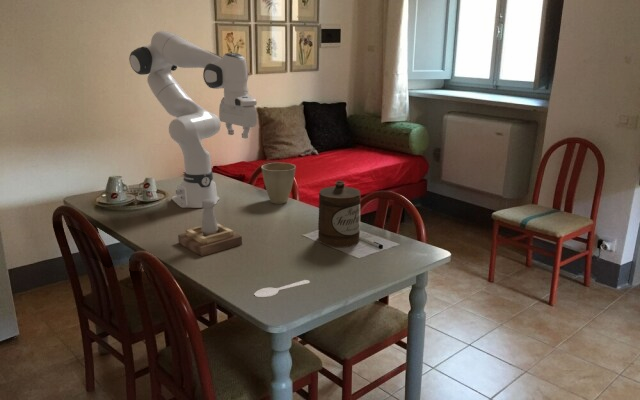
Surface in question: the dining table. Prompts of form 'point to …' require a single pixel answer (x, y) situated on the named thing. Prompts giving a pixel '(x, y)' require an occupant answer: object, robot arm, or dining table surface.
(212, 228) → the salt shaker
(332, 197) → the wooden container
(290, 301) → the dining table surface
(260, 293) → the spoon
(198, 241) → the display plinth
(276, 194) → the plant pot
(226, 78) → the robot arm
